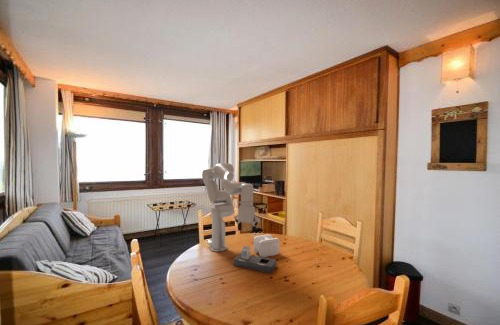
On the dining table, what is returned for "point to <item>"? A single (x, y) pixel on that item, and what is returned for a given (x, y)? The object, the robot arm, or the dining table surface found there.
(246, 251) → the plug
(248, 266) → the jack panel
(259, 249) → the cable organizer
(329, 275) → the dining table surface
